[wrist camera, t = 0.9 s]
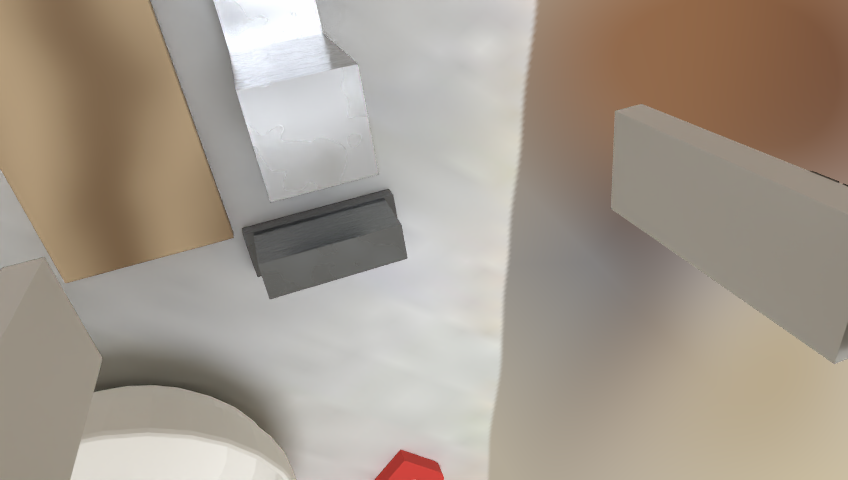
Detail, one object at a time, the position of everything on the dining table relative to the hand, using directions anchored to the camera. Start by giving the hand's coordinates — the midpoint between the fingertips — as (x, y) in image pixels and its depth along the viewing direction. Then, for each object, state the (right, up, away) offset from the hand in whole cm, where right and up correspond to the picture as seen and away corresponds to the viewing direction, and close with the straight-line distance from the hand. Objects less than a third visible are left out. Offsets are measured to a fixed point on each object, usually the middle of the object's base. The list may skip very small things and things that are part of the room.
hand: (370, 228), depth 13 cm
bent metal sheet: (-5, +7, +14) cm, 16 cm away
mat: (-13, +5, +12) cm, 18 cm away
